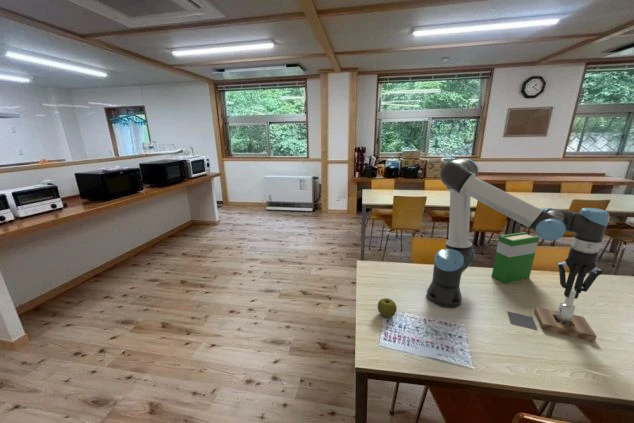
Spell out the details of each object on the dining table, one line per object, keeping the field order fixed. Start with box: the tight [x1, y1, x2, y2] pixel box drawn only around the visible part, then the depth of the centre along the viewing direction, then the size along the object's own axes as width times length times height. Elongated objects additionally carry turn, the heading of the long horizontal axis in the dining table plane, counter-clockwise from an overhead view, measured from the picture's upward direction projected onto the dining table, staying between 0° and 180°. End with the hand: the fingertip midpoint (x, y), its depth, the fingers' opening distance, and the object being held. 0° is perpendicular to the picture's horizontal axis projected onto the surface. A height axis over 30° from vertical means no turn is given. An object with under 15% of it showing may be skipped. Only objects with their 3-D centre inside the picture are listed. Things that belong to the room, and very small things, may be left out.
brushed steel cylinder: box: [556, 301, 576, 325], centre depth 109 cm, size 4×4×10 cm
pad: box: [506, 310, 539, 331], centre depth 114 cm, size 9×9×1 cm
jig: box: [533, 306, 598, 343], centre depth 110 cm, size 16×12×3 cm
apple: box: [377, 297, 397, 319], centre depth 117 cm, size 8×8×7 cm
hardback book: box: [491, 231, 540, 284], centre depth 144 cm, size 18×7×24 cm, turn 106°
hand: (568, 304), depth 107 cm, fingers closed
